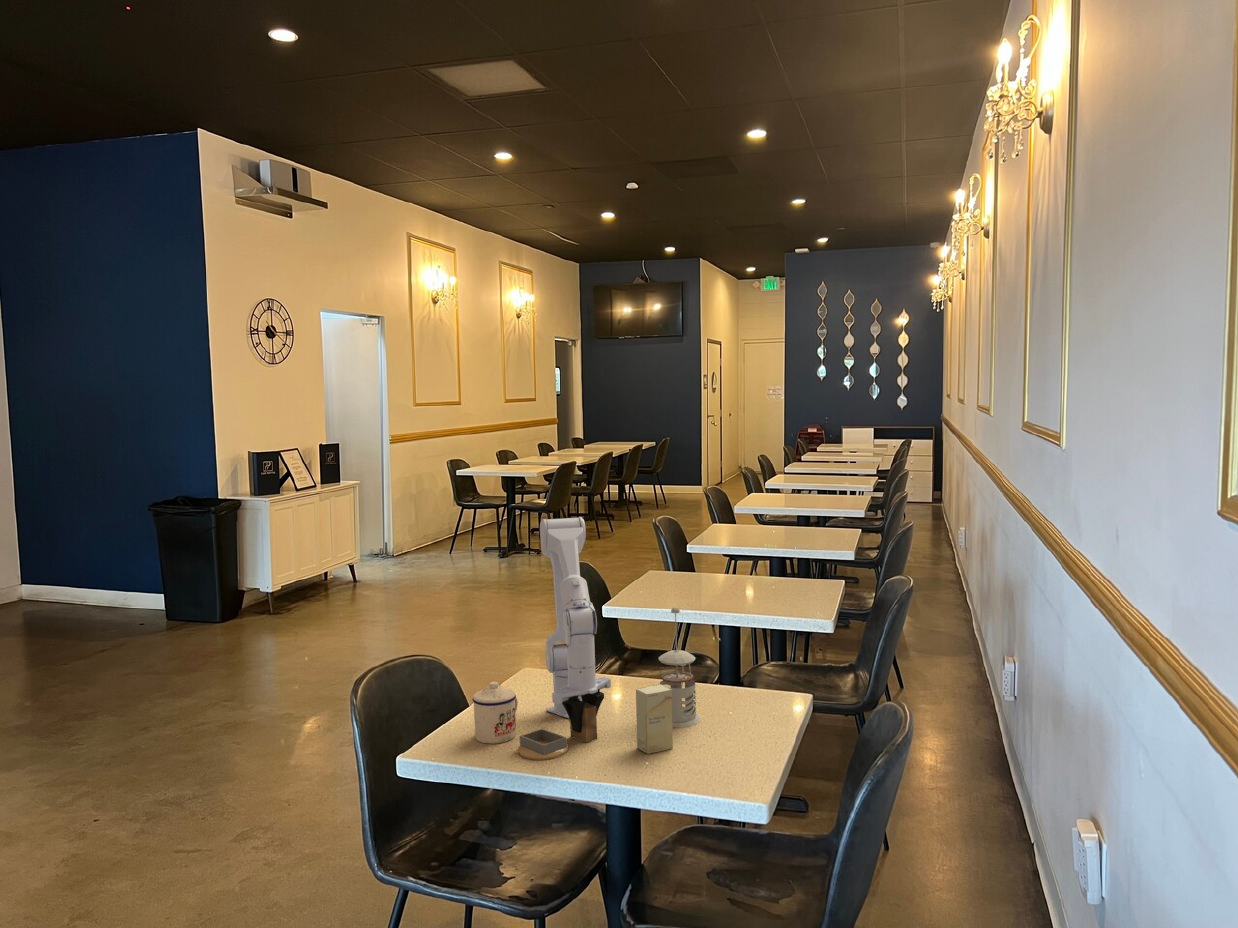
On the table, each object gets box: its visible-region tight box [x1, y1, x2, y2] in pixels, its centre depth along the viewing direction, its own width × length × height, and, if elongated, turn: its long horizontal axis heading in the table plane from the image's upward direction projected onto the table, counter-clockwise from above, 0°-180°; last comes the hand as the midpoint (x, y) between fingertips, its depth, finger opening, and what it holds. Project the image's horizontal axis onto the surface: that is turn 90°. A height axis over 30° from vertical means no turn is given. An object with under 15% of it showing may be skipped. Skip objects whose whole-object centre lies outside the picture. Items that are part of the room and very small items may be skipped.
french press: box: [657, 606, 702, 728], centre depth 197 cm, size 10×12×25 cm
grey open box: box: [518, 728, 569, 761], centre depth 182 cm, size 10×10×3 cm
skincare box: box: [635, 684, 674, 754], centre depth 181 cm, size 6×4×12 cm
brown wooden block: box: [569, 703, 598, 744], centre depth 188 cm, size 3×5×7 cm, turn 44°
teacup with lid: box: [471, 681, 519, 744], centre depth 191 cm, size 12×9×12 cm
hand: (583, 728), depth 188 cm, fingers closed on brown wooden block, 3 cm apart
